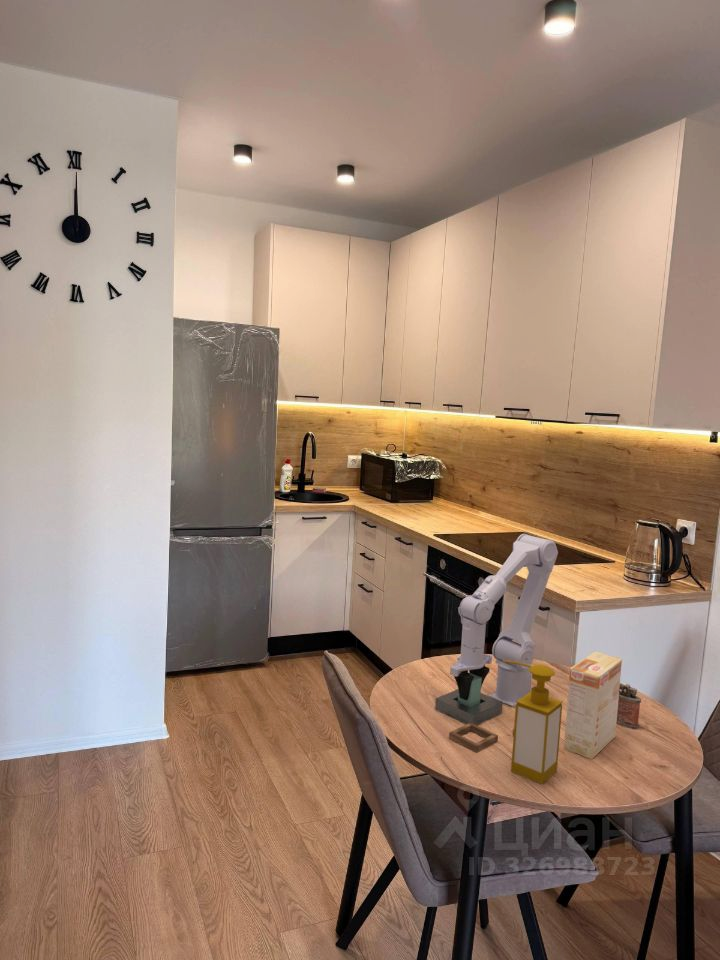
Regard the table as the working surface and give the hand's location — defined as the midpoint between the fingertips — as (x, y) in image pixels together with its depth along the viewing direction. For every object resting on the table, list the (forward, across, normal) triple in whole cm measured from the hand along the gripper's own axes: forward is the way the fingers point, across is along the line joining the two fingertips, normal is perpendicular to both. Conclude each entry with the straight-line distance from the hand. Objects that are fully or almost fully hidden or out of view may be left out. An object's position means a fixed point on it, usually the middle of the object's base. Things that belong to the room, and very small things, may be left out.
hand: (469, 696), depth 172 cm
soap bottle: (+4, +12, +24) cm, 27 cm away
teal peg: (+3, 0, 0) cm, 3 cm away
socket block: (+4, 0, 0) cm, 4 cm away
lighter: (+4, -26, +28) cm, 38 cm away
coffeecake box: (+4, -10, +28) cm, 30 cm away
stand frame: (+4, +11, +10) cm, 15 cm away
